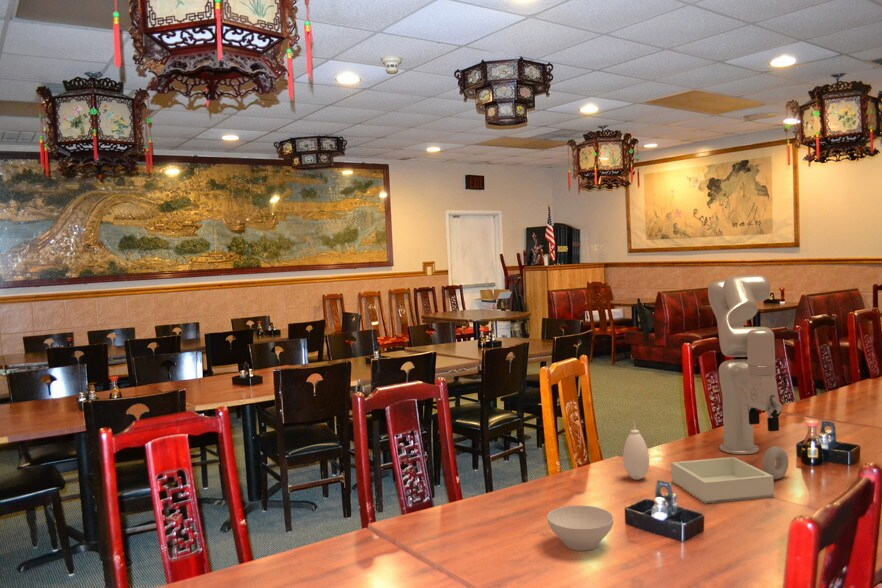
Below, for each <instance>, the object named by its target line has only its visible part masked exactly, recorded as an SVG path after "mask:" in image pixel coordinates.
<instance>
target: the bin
mask: <svg viewBox="0 0 882 588" xmlns="http://www.w3.org/2000/svg"><path fill="white" fill-rule="evenodd" d="M670 464H671V469H670V470H671V483H673V484H674V483H675V484H674V485H676V484H677V485H679V486H680V487H682V488H683V489H684V490H683V489H682V488H681V489H682V490H683V491H685V490H686V491H687V493H688V492H689V493H688V494H689V495H691V494H692V496H693V497H694V496H695V497H694V498H696V499H697V498H698V499H697V500H699V501H700V500H701V501H700V502H702V503H703V502H704V503H703V504H705V505H708V504H707V503H712V504H718V503H717V502H722V503H729V502H728V501H731V502H739V501H738V500H741V501H749V500H757V499H758V500H759V499H770V498H775V489H774V481H775V480H774V479H773V476H772V475H770V474H768V473H766V472H764V470H763V469H760V468H757V467H756V466H754V465H751V464H749V463H747V462H745V461H743V460H741V459H739V458H737V457H735V456H727V457H718V458H705V459H697V460H685V461H684V460H683V461H674V462H671V463H670ZM677 485H676V486H677ZM679 486H678V487H679ZM680 487H679V488H680ZM686 491H685V492H686Z"/></svg>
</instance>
